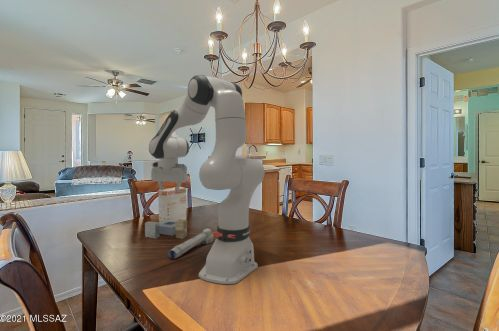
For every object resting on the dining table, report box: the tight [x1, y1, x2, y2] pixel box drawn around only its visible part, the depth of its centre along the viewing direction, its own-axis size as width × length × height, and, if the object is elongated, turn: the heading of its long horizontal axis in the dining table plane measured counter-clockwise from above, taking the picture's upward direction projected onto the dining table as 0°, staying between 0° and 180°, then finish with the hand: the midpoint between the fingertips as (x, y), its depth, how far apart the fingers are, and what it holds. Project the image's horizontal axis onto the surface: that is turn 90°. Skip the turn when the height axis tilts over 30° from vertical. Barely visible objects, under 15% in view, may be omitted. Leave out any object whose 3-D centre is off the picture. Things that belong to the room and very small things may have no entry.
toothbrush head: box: [167, 228, 214, 260], centre depth 114 cm, size 5×7×25 cm
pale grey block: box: [144, 221, 161, 239], centre depth 129 cm, size 3×6×7 cm, turn 70°
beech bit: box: [175, 219, 188, 239], centre depth 130 cm, size 4×4×8 cm
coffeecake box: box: [157, 186, 187, 223], centre depth 157 cm, size 15×7×20 cm, turn 144°
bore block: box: [159, 219, 177, 237], centre depth 139 cm, size 12×12×4 cm
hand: (169, 190), depth 138 cm, fingers open, 8 cm apart
